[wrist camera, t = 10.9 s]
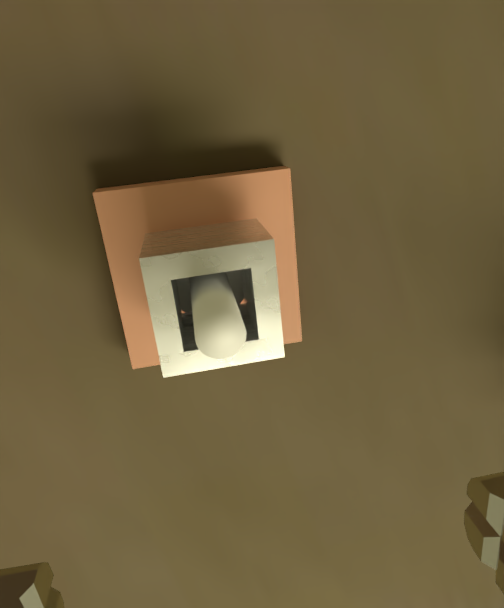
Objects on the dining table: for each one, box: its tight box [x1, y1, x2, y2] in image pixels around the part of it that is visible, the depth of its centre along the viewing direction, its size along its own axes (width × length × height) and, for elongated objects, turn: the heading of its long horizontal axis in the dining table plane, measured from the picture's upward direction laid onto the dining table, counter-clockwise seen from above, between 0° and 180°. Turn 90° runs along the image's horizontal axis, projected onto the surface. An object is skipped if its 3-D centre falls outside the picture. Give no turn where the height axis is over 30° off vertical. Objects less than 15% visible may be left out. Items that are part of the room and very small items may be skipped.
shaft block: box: [93, 166, 302, 369], centre depth 22 cm, size 10×10×10 cm
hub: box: [139, 218, 285, 378], centre depth 22 cm, size 6×6×5 cm
